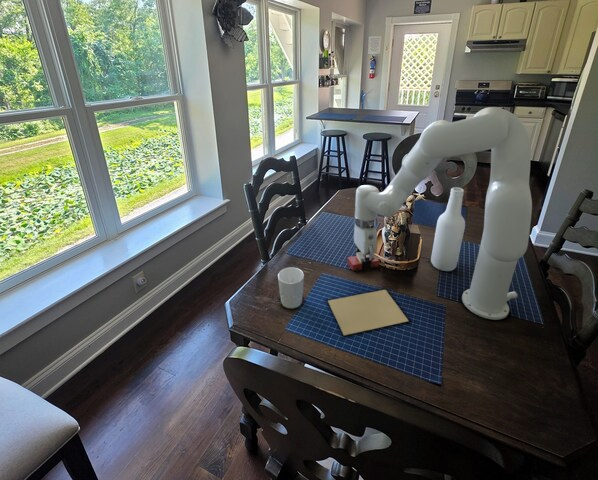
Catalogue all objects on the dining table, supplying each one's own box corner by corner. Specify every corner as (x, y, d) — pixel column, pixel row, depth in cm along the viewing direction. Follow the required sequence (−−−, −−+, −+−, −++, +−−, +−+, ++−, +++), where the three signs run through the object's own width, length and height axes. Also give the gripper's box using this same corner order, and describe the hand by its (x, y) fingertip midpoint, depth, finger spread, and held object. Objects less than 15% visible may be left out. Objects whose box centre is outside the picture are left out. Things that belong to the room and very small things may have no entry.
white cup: (282, 312, 97) (281, 285, 93) (276, 295, 104) (275, 269, 100) (307, 307, 99) (306, 280, 95) (300, 290, 106) (299, 265, 102)
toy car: (372, 259, 121) (373, 248, 119) (378, 267, 116) (379, 256, 114) (347, 264, 118) (347, 253, 117) (352, 272, 114) (353, 260, 112)
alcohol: (450, 257, 121) (465, 184, 110) (460, 272, 113) (477, 194, 102) (427, 257, 122) (439, 184, 110) (435, 272, 114) (449, 194, 102)
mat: (385, 289, 105) (385, 289, 105) (408, 321, 93) (408, 320, 93) (327, 301, 101) (327, 300, 101) (344, 335, 89) (344, 335, 88)
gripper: (387, 231, 103) (383, 277, 110) (365, 209, 119) (362, 250, 126) (366, 234, 102) (363, 281, 109) (346, 211, 117) (344, 253, 124)
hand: (362, 264), depth 117 cm, fingers closed on toy car, 5 cm apart
